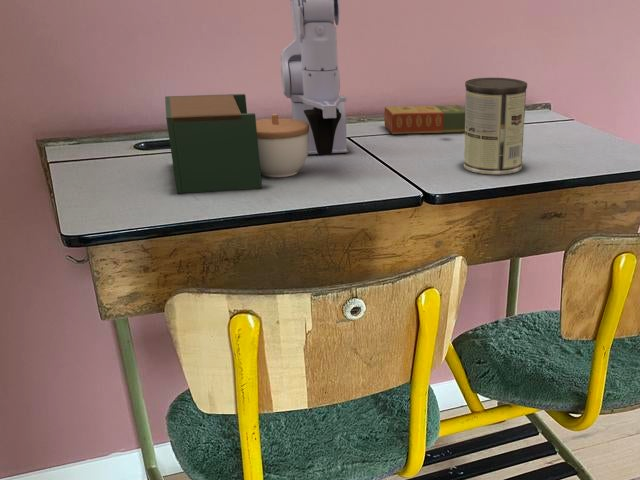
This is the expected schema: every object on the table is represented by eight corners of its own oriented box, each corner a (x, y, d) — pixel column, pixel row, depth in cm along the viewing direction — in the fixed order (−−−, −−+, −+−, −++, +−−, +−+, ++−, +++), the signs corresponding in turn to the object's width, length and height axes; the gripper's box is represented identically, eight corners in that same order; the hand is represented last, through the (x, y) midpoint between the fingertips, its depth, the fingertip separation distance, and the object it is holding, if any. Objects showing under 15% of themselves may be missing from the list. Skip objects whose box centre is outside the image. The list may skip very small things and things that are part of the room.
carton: (384, 126, 169) (383, 105, 167) (458, 124, 173) (459, 103, 171) (392, 135, 162) (392, 113, 160) (469, 132, 166) (470, 110, 164)
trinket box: (296, 183, 131) (291, 123, 126) (235, 178, 133) (228, 118, 128) (321, 167, 140) (318, 110, 135) (264, 162, 142) (258, 106, 137)
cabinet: (251, 161, 142) (244, 93, 137) (262, 188, 128) (255, 114, 123) (174, 165, 139) (164, 96, 133) (177, 193, 125) (166, 117, 119)
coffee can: (473, 157, 148) (475, 75, 141) (528, 163, 145) (533, 79, 138) (454, 171, 139) (457, 84, 133) (513, 177, 137) (518, 89, 130)
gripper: (354, 74, 125) (357, 163, 132) (336, 61, 137) (339, 143, 144) (308, 76, 123) (313, 166, 130) (294, 62, 136) (299, 145, 142)
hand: (324, 154), depth 137 cm, fingers closed, pressing on trinket box
